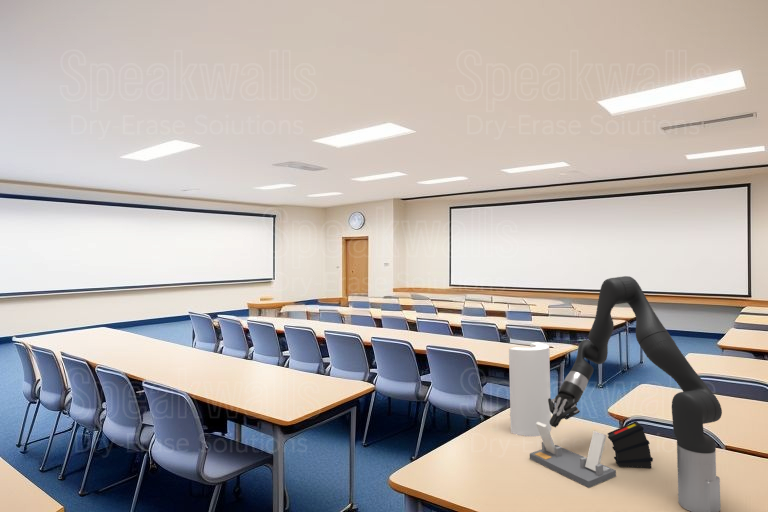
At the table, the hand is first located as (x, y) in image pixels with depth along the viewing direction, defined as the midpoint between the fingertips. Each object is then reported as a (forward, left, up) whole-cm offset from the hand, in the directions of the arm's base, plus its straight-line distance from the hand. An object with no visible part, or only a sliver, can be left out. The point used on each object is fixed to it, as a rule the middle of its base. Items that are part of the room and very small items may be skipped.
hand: (552, 425), depth 162 cm
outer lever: (0, +1, -9) cm, 9 cm away
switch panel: (-8, +1, -12) cm, 14 cm away
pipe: (+22, -15, -12) cm, 30 cm away
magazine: (-18, -17, -12) cm, 28 cm away
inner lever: (-16, +1, -9) cm, 18 cm away
